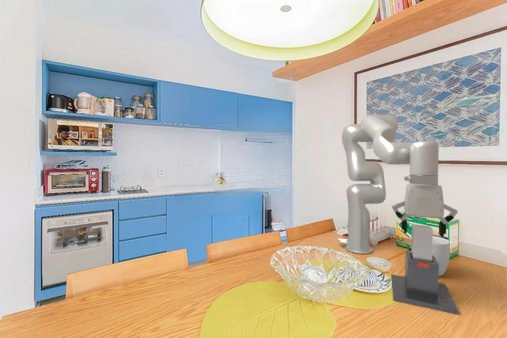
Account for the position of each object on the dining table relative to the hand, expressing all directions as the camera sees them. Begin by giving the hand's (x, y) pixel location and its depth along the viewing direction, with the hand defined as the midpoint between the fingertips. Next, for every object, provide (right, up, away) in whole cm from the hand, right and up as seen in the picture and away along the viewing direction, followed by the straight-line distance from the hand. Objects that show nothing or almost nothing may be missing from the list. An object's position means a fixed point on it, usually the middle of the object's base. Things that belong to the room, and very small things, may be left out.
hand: (422, 234), depth 81 cm
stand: (0, -20, +1) cm, 20 cm away
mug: (+13, -19, +16) cm, 28 cm away
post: (0, -18, +1) cm, 18 cm away
